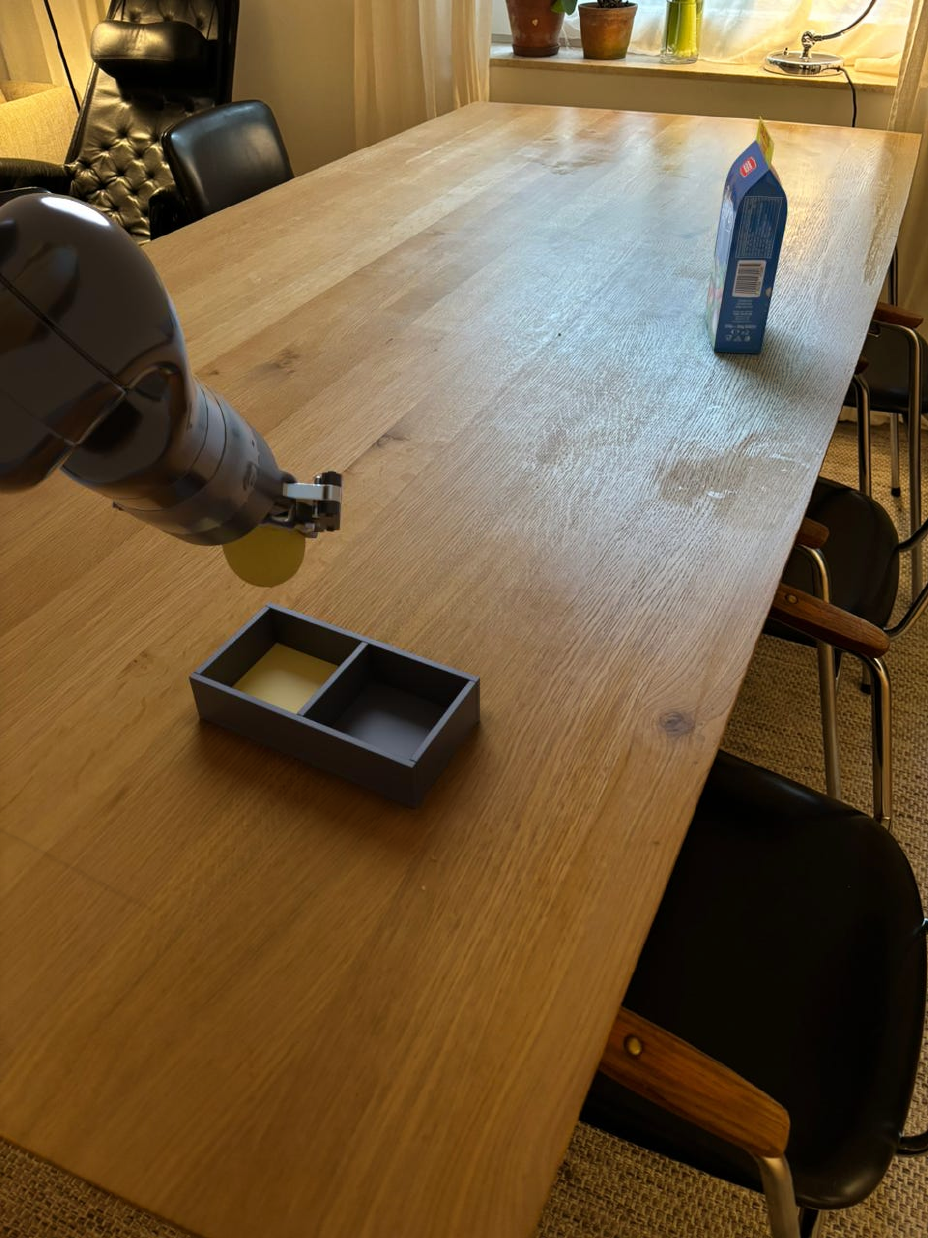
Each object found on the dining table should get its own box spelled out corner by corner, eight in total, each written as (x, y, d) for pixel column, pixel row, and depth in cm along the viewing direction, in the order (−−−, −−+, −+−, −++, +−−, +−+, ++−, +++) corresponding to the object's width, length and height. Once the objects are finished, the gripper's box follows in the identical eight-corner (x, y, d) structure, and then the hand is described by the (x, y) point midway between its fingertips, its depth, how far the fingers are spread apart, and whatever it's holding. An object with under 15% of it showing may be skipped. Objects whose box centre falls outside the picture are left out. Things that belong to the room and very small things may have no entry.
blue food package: (749, 315, 136) (786, 116, 119) (761, 354, 126) (803, 144, 110) (703, 314, 136) (733, 115, 120) (711, 352, 127) (745, 143, 111)
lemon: (325, 592, 69) (313, 494, 64) (251, 621, 66) (233, 522, 61) (289, 553, 72) (275, 457, 67) (218, 579, 70) (198, 482, 65)
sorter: (415, 810, 71) (412, 768, 68) (199, 718, 79) (188, 676, 76) (480, 718, 78) (480, 677, 75) (276, 642, 85) (268, 601, 82)
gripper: (327, 394, 51) (375, 471, 68) (56, 386, 52) (170, 464, 69) (318, 538, 50) (370, 580, 67) (44, 528, 51) (162, 572, 68)
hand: (268, 521), depth 68 cm, fingers closed on lemon, 5 cm apart
